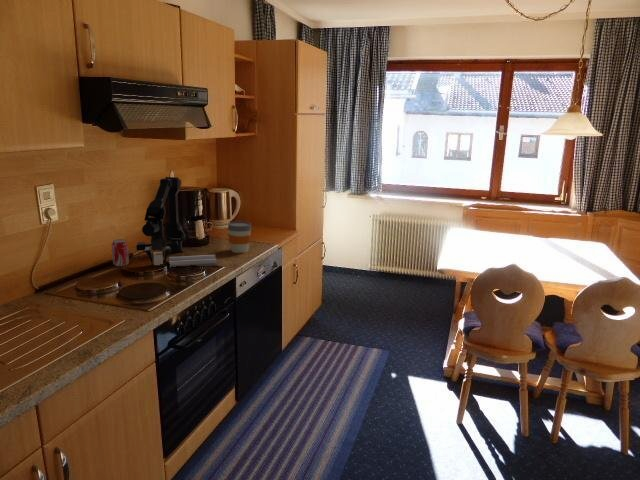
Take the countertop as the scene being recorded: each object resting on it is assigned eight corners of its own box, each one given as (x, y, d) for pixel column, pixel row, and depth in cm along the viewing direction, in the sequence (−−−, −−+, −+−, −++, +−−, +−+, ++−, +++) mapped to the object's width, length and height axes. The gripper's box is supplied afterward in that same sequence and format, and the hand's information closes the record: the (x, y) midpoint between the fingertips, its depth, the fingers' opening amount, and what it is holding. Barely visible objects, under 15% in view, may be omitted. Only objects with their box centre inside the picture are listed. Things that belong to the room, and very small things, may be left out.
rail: (169, 262, 232) (169, 256, 231) (214, 259, 239) (214, 254, 238) (169, 268, 222) (169, 262, 222) (217, 265, 229) (216, 259, 229)
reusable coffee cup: (235, 255, 248) (235, 227, 245) (223, 249, 258) (223, 222, 254) (255, 251, 256) (255, 224, 253) (243, 246, 266) (243, 220, 262)
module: (154, 264, 228) (153, 251, 227) (162, 263, 229) (162, 251, 228) (154, 267, 223) (153, 254, 222) (163, 266, 225) (162, 254, 223)
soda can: (110, 264, 225) (108, 240, 222) (125, 261, 230) (123, 238, 227) (116, 268, 220) (114, 243, 217) (131, 265, 225) (130, 241, 222)
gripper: (135, 236, 212) (136, 269, 216) (178, 234, 218) (179, 266, 222) (136, 230, 222) (137, 262, 226) (177, 229, 228) (178, 260, 232)
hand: (158, 262), depth 226 cm, fingers open, 5 cm apart
